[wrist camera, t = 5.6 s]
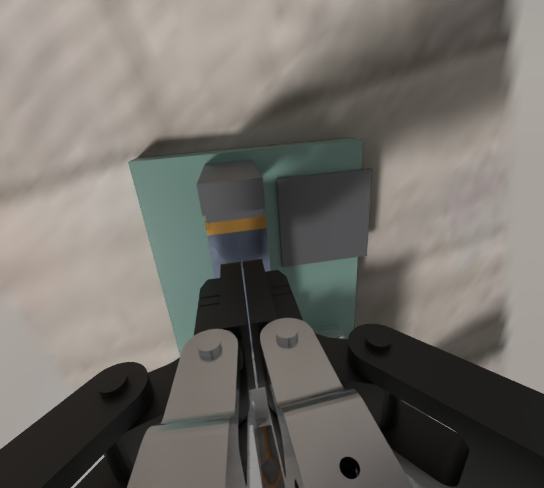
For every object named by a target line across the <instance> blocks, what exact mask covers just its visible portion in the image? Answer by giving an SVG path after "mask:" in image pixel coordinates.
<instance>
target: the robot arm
mask: <svg viewBox="0 0 544 488" xmlns="http://www.w3.org/2000/svg"><path fill="white" fill-rule="evenodd" d="M242 263H243V271H244V280H245V288H246V296H247V305H248V313H249V321H250V329H251V337H252V344H253V352H254V360H255V367H256V375H257V383H258V388H262V387H265V390H266V396H267V404H268V412H269V418H270V422H271V426H272V431H273V435H274V439H275V444H276V448H277V452H278V457H279V461H280V465H281V470H282V474H283V478H284V483H285V487H286V488H413V486H412V485H411V483H410V481H409V479H408V478H407V476H406V475H408V476H409V477H411V478H412V479H413V480H415V481H416V482H417V483H419V484H420V485H421V486H423V487H424V488H544V394H543V393H540V392H538V391H536V390H533V389H531V388H529V387H526V386H524V385H521V384H519V383H517V382H515V381H512V380H510V379H508V378H505V377H503V376H501V375H498V374H496V373H494V372H492V371H489V370H487V369H485V368H482V367H480V366H478V365H475V364H473V363H471V362H468V361H466V360H464V359H461V358H459V357H457V356H454V355H452V354H450V353H447V352H445V351H443V350H440V349H438V348H436V347H433V346H431V345H429V344H427V343H424V342H422V341H420V340H417V339H415V338H413V337H410V336H408V335H406V334H403V333H401V332H399V331H396V330H394V329H392V328H389V327H387V326H383V325H378V324H365V325H361V326H358V327H356V328H355V329H353V330H352V331H351V332H350V334H349V336H348V339H342V338H331V337H325V336H322V335H319V334H317V333H315V332H314V331H313V329H312V328H311V327H310V326H309V325H308V324H307V323H306V322H304V321H303V319H302V316H301V313H300V311H299V308H298V306H297V303H296V300H295V298H294V295H293V293H292V290H291V287H290V284H289V282H288V279H287V277H286V276H285V275H284V274H283V273H281V272H280V271H279V270H273V271H266V272H265V269H264V265H263V261H262V259H255V260H248V261H242ZM252 389H256V385H255V376H254V367H253V359H252V350H251V341H250V332H249V324H248V315H247V307H246V299H245V291H244V284H243V276H242V269H241V262H233V263H226V264H221V265H220V278H215V279H208V280H207V281H206V282H205V283H204V284H203V286H202V287H201V288H200V293H199V300H198V308H197V315H196V322H195V329H194V336H193V337H192V338H191V339H190V340H188V342H187V343H186V344H185V345H184V347H183V350H182V353H181V356H180V358H178V359H177V360H175V361H174V362H172V363H170V364H168V365H166V366H163V367H161V368H158V369H156V370H154V371H151V372H149V373H148V372H147V370H146V368H145V367H144V366H143V365H141V364H139V363H135V362H125V363H120V364H116V365H114V366H111V367H109V368H107V369H105V370H103V371H102V372H100V373H99V374H97V375H96V376H95V377H93V378H92V379H91V380H89V381H88V382H87V383H85V384H84V385H83V386H82V387H80V388H79V389H78V390H76V391H75V392H74V393H73V394H71V395H70V396H69V397H67V398H66V399H65V400H64V401H62V402H61V403H60V404H59V405H57V406H56V407H54V408H53V409H52V410H51V411H49V412H48V413H47V414H45V415H44V416H43V417H42V418H40V419H39V420H38V421H36V422H35V423H34V424H33V425H31V426H30V427H29V428H27V429H26V430H25V431H24V432H22V433H21V434H20V435H18V436H17V437H16V438H14V439H13V440H12V441H11V442H9V443H8V444H7V445H6V446H4V447H3V448H2V449H0V488H71V487H72V486H73V485H74V484H75V483H76V481H78V480H79V479H80V478H81V477H82V476H83V474H85V473H86V472H87V470H88V469H90V468H91V466H92V465H93V464H94V463H95V462H96V461H97V460H98V459H99V458H100V457H101V456H102V455H104V456H105V457H104V458H103V459H102V460H101V461H100V462H99V463H98V464H97V465H96V466H95V467H94V468H93V469H92V470H91V471H90V472H89V473H88V475H86V476H85V478H84V479H82V480H81V482H80V483H79V484H78V485H77V486H76V487H75V488H250V418H249V408H250V399H249V390H252ZM402 400H403V401H404V402H406V403H408V404H410V405H411V406H413V407H415V408H416V409H415V408H413V407H411V406H410V405H408V404H406V403H404V402H403V401H402ZM417 409H418V410H420V411H422V412H423V413H425V414H427V415H429V416H430V417H432V418H434V419H435V420H437V421H439V422H441V423H442V424H444V425H446V426H448V427H449V428H451V429H453V430H454V431H456V432H457V433H456V432H454V431H453V430H451V429H449V428H448V427H446V426H444V425H442V424H441V423H439V422H437V421H435V420H434V419H432V418H430V417H429V416H427V415H425V414H423V413H422V412H420V411H418V410H417Z"/></svg>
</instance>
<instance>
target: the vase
mask: <svg viewBox="0 0 544 488" xmlns="http://www.w3.org/2000/svg"><path fill="white" fill-rule="evenodd" d="M257 434H258V443H259V453H260V463H261V472H262V482H263V488H285V484H284V478H283V474H282V470H281V465H280V461H279V457H278V452H277V448H276V444H275V439H274V435H273V431H272V426H271V425H267V426H262V427H257Z"/></svg>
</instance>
